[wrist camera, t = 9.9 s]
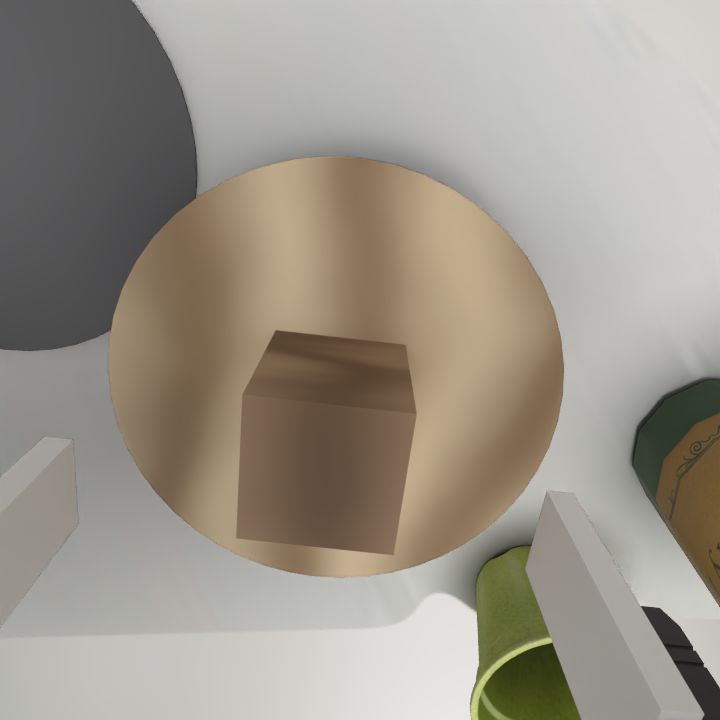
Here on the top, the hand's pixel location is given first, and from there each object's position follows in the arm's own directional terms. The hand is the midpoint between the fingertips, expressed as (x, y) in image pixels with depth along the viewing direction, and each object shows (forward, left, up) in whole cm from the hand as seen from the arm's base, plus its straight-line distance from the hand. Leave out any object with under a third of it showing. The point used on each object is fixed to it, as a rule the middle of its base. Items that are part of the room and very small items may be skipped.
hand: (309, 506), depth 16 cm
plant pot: (+13, -15, -16) cm, 26 cm away
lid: (0, 0, -9) cm, 9 cm away
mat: (-18, +7, -16) cm, 25 cm away
